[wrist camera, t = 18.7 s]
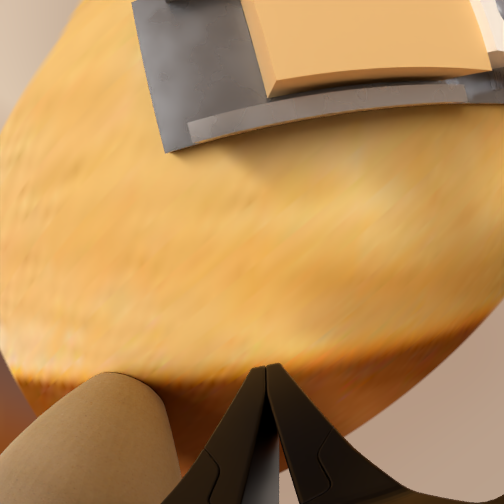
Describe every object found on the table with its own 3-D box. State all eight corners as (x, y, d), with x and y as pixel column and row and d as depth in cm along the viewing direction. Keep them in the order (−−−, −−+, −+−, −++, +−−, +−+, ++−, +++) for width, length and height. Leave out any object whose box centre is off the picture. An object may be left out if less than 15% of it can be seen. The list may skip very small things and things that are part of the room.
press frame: (475, -12, 12) (529, -36, 6) (510, 104, 16) (575, 105, 9) (136, 8, 14) (90, -42, 7) (169, 152, 17) (125, 160, 11)
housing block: (467, 6, 12) (520, -16, 7) (487, 69, 14) (547, 61, 8) (413, -3, 13) (463, -37, 7) (435, 66, 14) (497, 50, 9)
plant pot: (80, 436, 26) (35, 552, 11) (34, 323, 21) (-74, 459, 6) (215, 457, 26) (207, 599, 11) (208, 343, 21) (177, 572, 6)
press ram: (409, -16, 12) (447, -46, 7) (441, 80, 14) (492, 70, 10) (237, -10, 13) (234, -56, 8) (267, 98, 15) (276, 80, 10)
